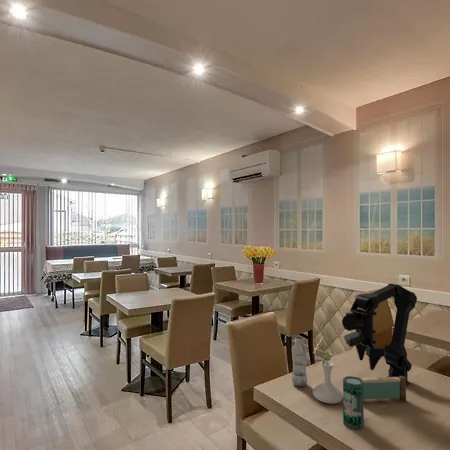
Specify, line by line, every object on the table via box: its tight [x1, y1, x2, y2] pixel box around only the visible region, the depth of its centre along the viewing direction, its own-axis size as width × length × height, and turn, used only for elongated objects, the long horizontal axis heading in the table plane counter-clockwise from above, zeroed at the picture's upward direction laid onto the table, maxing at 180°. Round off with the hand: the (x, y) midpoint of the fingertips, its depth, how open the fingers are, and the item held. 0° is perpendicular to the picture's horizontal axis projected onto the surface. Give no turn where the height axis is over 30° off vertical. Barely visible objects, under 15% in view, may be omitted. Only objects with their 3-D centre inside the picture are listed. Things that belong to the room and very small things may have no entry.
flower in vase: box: [311, 335, 343, 404], centre depth 123 cm, size 13×11×25 cm
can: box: [342, 375, 365, 431], centre depth 108 cm, size 6×6×15 cm
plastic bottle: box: [291, 335, 308, 388], centre depth 135 cm, size 6×7×20 cm
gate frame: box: [356, 376, 409, 406], centre depth 122 cm, size 19×3×9 cm, turn 94°
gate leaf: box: [360, 376, 400, 399], centre depth 122 cm, size 15×2×7 cm, turn 94°
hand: (366, 364), depth 129 cm, fingers open, 9 cm apart
